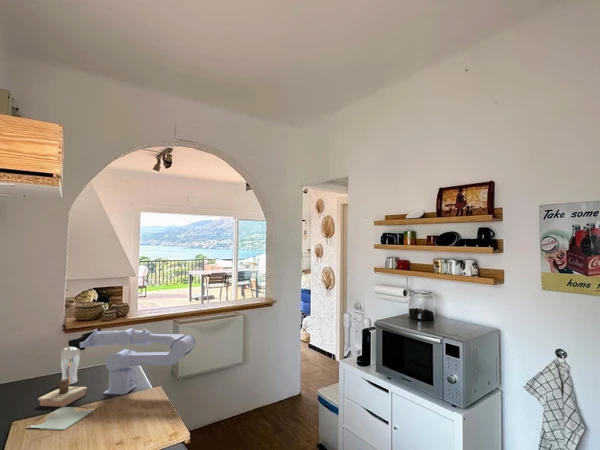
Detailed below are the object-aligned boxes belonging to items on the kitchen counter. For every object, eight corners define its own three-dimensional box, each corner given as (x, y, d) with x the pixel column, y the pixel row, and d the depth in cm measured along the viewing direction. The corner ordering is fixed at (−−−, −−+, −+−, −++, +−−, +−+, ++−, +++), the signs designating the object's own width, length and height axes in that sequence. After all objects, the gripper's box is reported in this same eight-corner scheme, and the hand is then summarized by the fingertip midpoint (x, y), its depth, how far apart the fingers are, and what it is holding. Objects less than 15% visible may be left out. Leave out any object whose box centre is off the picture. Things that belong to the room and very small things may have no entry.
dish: (85, 394, 129) (85, 389, 129) (64, 406, 119) (64, 400, 119) (62, 394, 130) (62, 388, 130) (40, 405, 120) (40, 399, 120)
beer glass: (71, 386, 138) (72, 350, 139) (55, 386, 138) (57, 350, 139) (82, 379, 145) (83, 346, 146) (67, 379, 145) (69, 346, 146)
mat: (96, 409, 116) (96, 408, 116) (64, 430, 102) (64, 428, 102) (61, 407, 118) (62, 406, 118) (25, 428, 104) (25, 427, 104)
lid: (87, 388, 129) (87, 375, 130) (64, 401, 118) (65, 386, 119) (62, 388, 130) (63, 374, 131) (38, 400, 119) (38, 385, 120)
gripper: (116, 323, 142) (87, 325, 143) (93, 334, 127) (61, 336, 128) (117, 339, 142) (88, 340, 143) (95, 351, 127) (63, 353, 128)
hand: (76, 339), depth 135 cm, fingers open, 7 cm apart
